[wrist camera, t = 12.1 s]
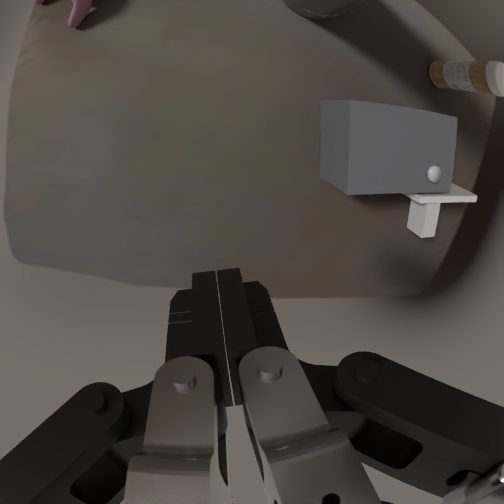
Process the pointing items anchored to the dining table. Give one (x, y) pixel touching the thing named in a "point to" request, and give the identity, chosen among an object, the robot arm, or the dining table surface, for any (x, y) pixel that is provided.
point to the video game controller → (76, 11)
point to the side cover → (432, 208)
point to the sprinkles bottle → (469, 76)
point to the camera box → (385, 148)
